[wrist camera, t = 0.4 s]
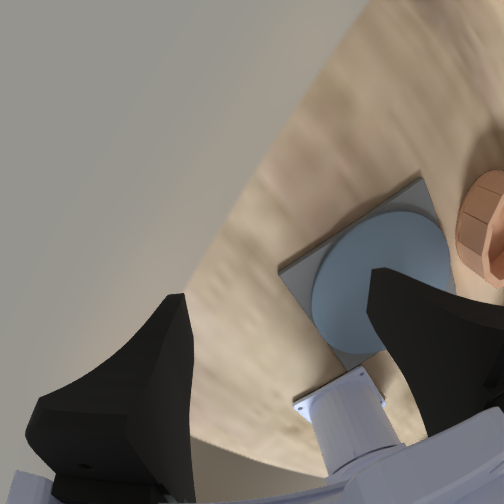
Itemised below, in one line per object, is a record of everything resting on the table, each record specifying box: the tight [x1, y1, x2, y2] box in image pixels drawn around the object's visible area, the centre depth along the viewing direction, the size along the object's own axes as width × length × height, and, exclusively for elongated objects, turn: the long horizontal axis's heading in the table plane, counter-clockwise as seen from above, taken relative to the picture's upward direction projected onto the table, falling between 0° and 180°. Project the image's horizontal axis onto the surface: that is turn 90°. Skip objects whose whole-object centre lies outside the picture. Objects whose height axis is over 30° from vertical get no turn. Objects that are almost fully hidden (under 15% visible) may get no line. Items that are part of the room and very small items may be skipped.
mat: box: [278, 177, 456, 371], centre depth 24 cm, size 13×13×1 cm
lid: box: [311, 210, 450, 354], centre depth 22 cm, size 13×13×4 cm
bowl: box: [455, 170, 504, 288], centre depth 22 cm, size 10×10×4 cm
